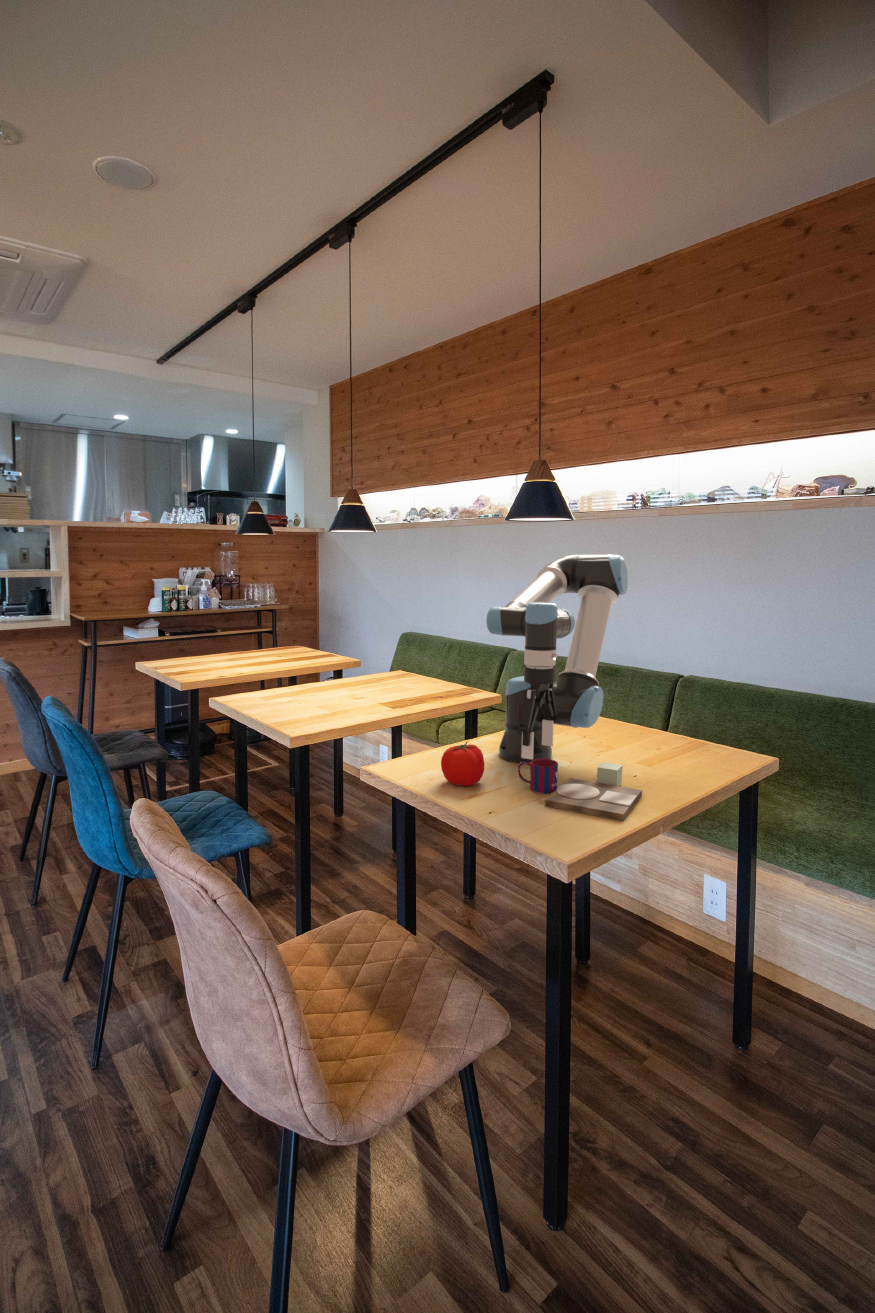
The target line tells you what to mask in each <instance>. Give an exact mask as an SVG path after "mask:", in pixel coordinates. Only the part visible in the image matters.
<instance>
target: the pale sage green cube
mask: <svg viewBox="0 0 875 1313" xmlns="http://www.w3.org/2000/svg"><path fill="white" fill-rule="evenodd" d="M596 782H597V783H603V784H609V785H615V786H621V785H622V784H623V764H619V763H612V762H605V761H603V762H601V763H600V764H599V765H597V768H596Z"/></svg>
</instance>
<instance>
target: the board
mask: <svg viewBox="0 0 875 1313" xmlns="http://www.w3.org/2000/svg"><path fill="white" fill-rule="evenodd" d="M642 796H643V790H642V789H639V788H632V787H626V786H621V785H620V786H615V785H609V784H603V783H597V781H590V780H583V779H577V778H571V777H569V778H568V779H567V780H566V781H564V782H563V783H562V784H561V785H560V786H557V790H556V791H554V792H553V793H550V795H549V796H547V798H545V799H544V807H548V808H554V809H558V810H564V811H569V812H574V813H579V814H586V815H591V816H596V817H601V818H604V819H605V818H606V819H612V820H617V821H622V822H624V821H625V819H626V818H627V816H628V815H629V814H630V813H631V811H632V810H633V808H634V807H635V806H636V804H637V803H638V802H639V801H640V799H641V798H642Z"/></svg>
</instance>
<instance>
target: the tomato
mask: <svg viewBox="0 0 875 1313" xmlns="http://www.w3.org/2000/svg"><path fill="white" fill-rule="evenodd" d="M468 742H469V741H468V740H467V741H466V742H465V743H464V744H459V745H454V746H453V745H452V746H450V747H448V748H447V749H446V750H445V751H444V752H443V754H442V756H441V760H440V765H441V766H440V767H441V772H442V774H443V777H444V778H445V780H446V781H447V782H448V783H450V784H452V785H455V786H460V787H461V786H462V787H469V786H473V785H475V784H477V783H478V782H480V781H481V780H482V778H483V775H484V772H485V757H484V754H483V752H482V750H481V749H480V747H478V746H477V745H475V744H468Z"/></svg>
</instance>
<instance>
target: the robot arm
mask: <svg viewBox="0 0 875 1313" xmlns="http://www.w3.org/2000/svg"><path fill="white" fill-rule="evenodd" d="M628 581H629V579H628V569H627V564H626V561H625V558H623V556H622V555H620V554H610V553H608V554H570V555H565V556H562V557H560V558H558V559H555V560H554V561H552V562H549V563H548V564H546V565H545V566H544V567H543V568H542V569H540V571H538V573H537V575H536V578H535V579H534V580H533V581H532V582H531V583H530V584H528V585H527V586H526V587H525V588H524V589H523V590H522V591H521V592H520V593H519V594H517V595H516V596H515V597H514V598H513V599H512V600H511V601H509V603H507V604H506V605H505V606H501V605H499V606H492V607H491V608H489V609H488V611H487V615H486V620H485V621H486V627H487V630H488V632H489V633H490V634H492V635H496V636H497V635H499V636H501V637H503V636H506V637H507V636H508V637H524V638H525V639H524V642H525V643H524V658H523V660H524V661H523V662H524V663H523V664H524V666H525V667H524V668H523V672H524V673H523V675H522V676H521V675H520V676H517V677H512V678H510V679H509V680H508V681H507V682H506V689H505V693H504V695H505V729H504V732H503V735H502V737H501V741H500V744H499V747H498V748H499V749H498V755H499V757H500V758H502V759H504V760H506V761H510V762H515V763H521V762H528V763H531V761H532V760H535V759H551V758H552V755H553V748H552V747H553V746H554V725H557V726H558V725H559V726H563V727H565V726H566V727H572V728H574V729H575V728H582V729H587V728H588V729H589V728H590V727H593V726H594V725H595V724H596V723H597V721H598V719H599V717H600V715H601V712H602V709H603V705H604V702H603V701H604V691H603V689H602V687H601V686H600V682H599V680H598V679H597V678H596V675H597V671H598V665H599V662H600V657H601V652H602V647H603V644H604V639H605V634H606V631H607V630H606V629H607V625H608V621H609V615H610V613H611V612H610V611H611V606H613V605H615V604H616V603H617V602H618V599H619V596H623V595H625V594H626V593H627V591H628V586H629V584H628ZM563 594H577V596H578V598H580V600H581V601H580V605H579V610H578V613H577V618H576V620H575V617H574V615H573V613H572V611H570V610H569V609H567V608H562V607H558V606H557V604H556V603H555V602H551V601H552V600H553V599H554V598H558V597H560V596H562V595H563ZM572 632H573V634H572V639H571V644H570V648H569V651H568V655H567V660H566V663H565V664H566V665H565V669H564V670H563V671H560V672H559V673H558V675H557V679H556V674H557V673H556V668H555V667H554V666H556V664H557V663H556V659H557V658H558V653H557V640H558V639H563V638H565V637H567V636H568V635H570V634H571V633H572Z"/></svg>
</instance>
